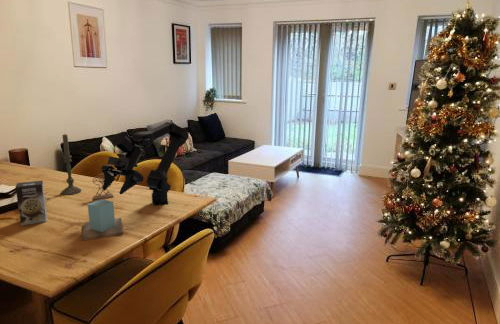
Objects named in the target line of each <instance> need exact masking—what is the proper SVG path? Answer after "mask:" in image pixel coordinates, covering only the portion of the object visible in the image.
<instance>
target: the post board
mask: <svg viewBox="0 0 500 324" xmlns="http://www.w3.org/2000/svg"><path fill="white" fill-rule="evenodd" d="M122 221H123V220H122V217H118V218H117V217H116V218H115V226H114V227H112V228H110V229H108V230H105V231H103V232H100V231H96V230H93V229H90V222H89V221H87V222H86V221H85V222H84V223H83V229H82V233H81V234H82V236H81V240H82V241H86V240H93V239H101V238H109V237H115V236H121V235H124V231H123V223H122Z"/></svg>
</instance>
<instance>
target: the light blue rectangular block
mask: <svg viewBox="0 0 500 324" xmlns="http://www.w3.org/2000/svg"><path fill="white" fill-rule="evenodd" d="M114 206H115V205H114V201H111V200H107V199H99V200H94V201H93V202H92V201H91V202H90V203H87V211H88V222H90V229H93V230H96V231H100V232H103V231H105V230H108V229H110V228H112V227H114V226H115V219H116V218H115V208H114Z"/></svg>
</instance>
